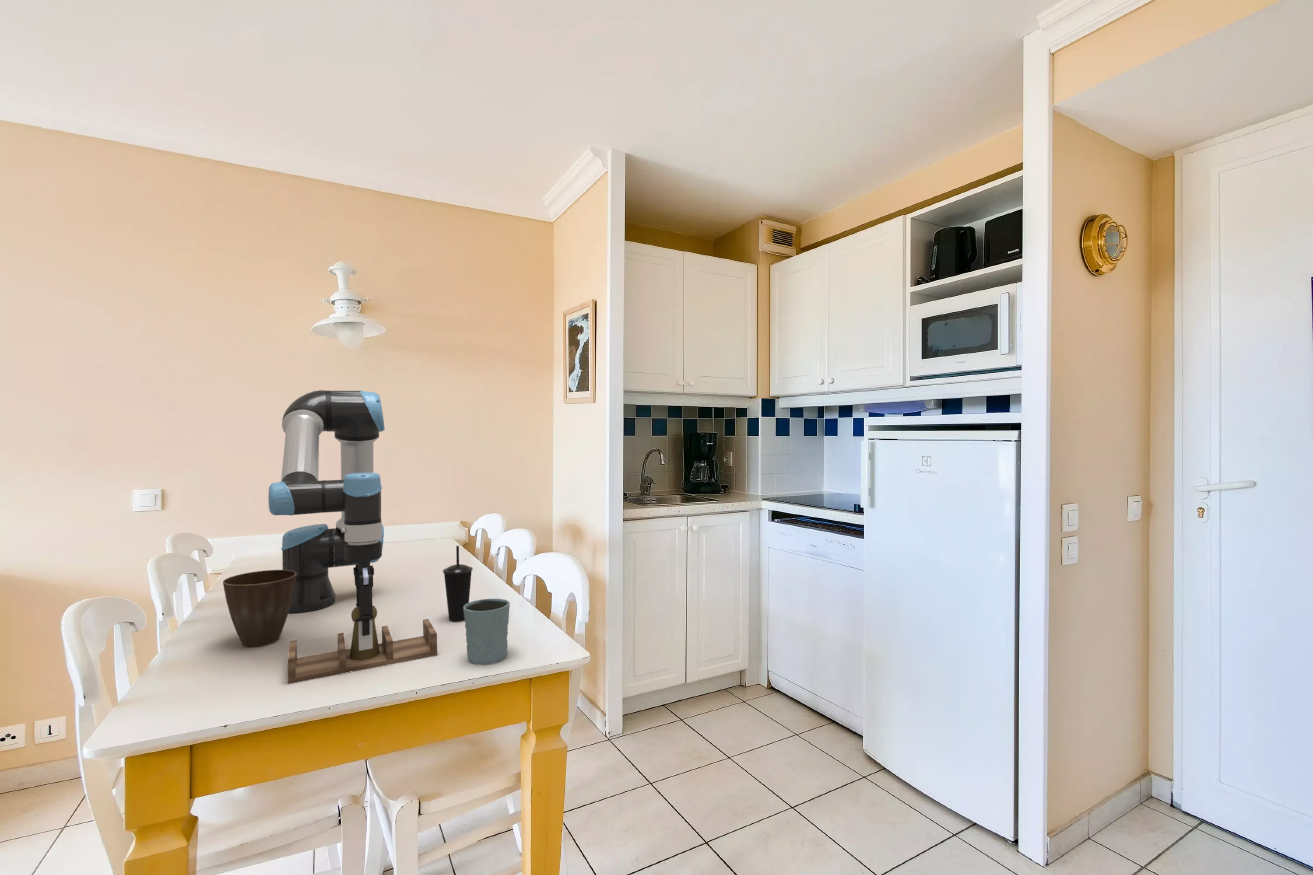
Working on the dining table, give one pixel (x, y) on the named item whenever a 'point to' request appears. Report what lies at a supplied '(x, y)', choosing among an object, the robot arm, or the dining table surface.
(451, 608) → the drinking cup
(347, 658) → the spice rack
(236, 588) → the plant pot
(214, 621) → the dining table surface
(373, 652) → the olive peg figure
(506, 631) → the grey-green tumbler
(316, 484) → the robot arm
